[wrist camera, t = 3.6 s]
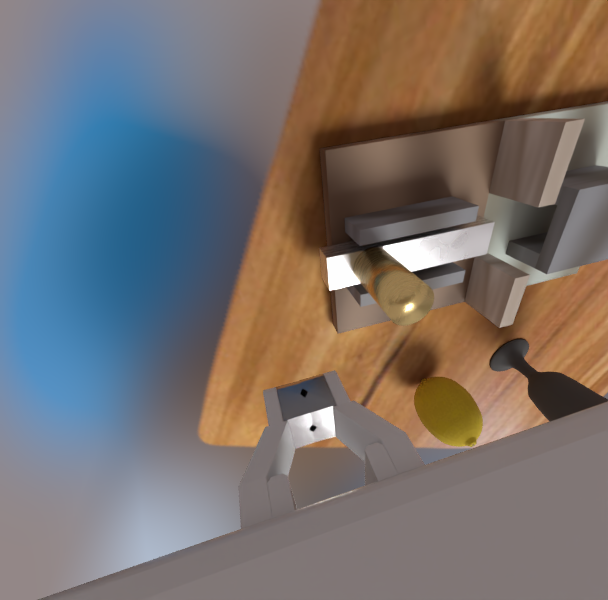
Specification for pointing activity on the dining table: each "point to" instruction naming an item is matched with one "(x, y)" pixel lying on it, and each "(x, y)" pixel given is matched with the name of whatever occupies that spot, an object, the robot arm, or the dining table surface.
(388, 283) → the bolt
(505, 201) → the lock board
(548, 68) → the dining table surface
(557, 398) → the sundae
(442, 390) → the lemon
